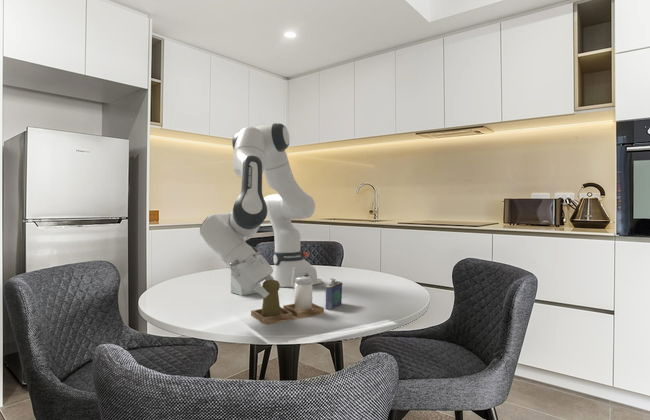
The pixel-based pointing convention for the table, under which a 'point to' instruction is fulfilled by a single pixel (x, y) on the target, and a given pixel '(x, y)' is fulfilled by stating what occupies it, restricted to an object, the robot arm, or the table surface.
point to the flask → (333, 294)
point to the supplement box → (239, 288)
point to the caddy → (287, 314)
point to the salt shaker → (303, 293)
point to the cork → (271, 299)
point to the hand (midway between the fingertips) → (272, 291)
